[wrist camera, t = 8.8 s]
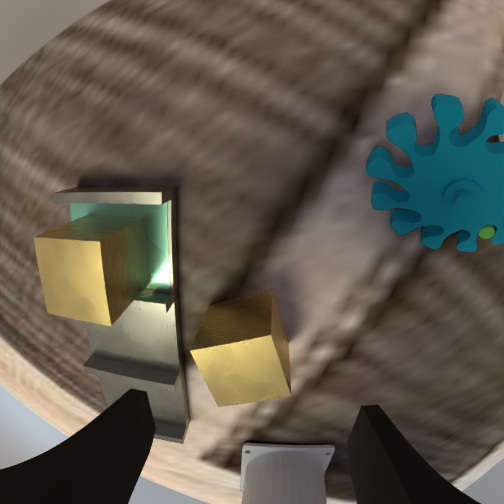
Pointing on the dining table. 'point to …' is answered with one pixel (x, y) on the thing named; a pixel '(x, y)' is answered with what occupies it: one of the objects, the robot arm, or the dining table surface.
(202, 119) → the dining table surface
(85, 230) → the brass block
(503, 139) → the cylinder with rectangular tab
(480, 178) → the gear
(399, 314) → the dining table surface
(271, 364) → the brass metal cube
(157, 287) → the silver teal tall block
